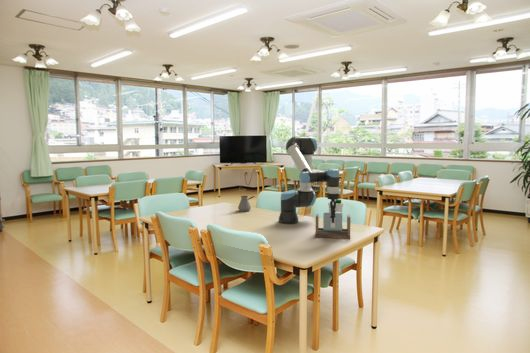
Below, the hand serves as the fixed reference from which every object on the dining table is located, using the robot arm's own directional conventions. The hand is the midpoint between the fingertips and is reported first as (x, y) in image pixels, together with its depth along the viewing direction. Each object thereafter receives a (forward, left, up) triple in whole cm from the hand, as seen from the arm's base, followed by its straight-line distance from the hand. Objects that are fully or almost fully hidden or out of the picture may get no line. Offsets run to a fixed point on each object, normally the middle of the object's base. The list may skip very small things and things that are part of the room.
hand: (332, 224), depth 239 cm
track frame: (0, 0, -7) cm, 7 cm away
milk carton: (-20, +2, -7) cm, 21 cm away
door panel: (0, 0, -6) cm, 6 cm away
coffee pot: (-65, -72, -8) cm, 97 cm away
